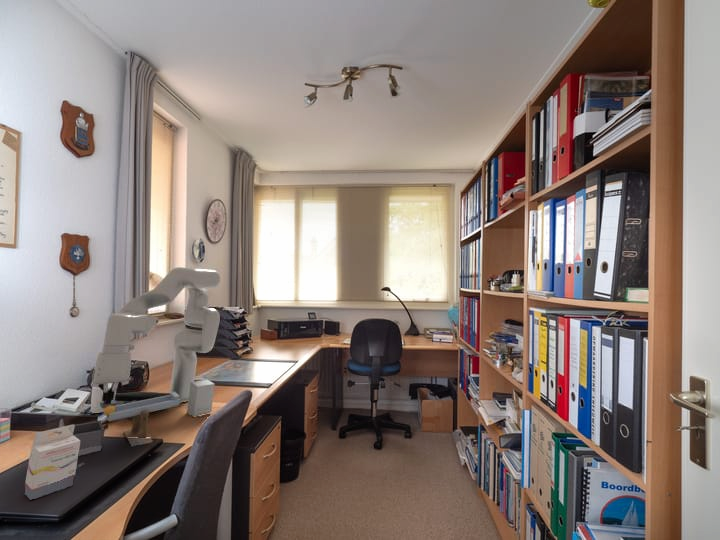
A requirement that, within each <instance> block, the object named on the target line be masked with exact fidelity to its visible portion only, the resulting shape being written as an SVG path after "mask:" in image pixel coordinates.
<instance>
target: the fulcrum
mask: <svg viewBox="0 0 720 540" xmlns="http://www.w3.org/2000/svg"><path fill="white" fill-rule="evenodd" d="M149 415H150V412H149V410H146V411H142V412H141V414H140V415H135V416H134V417H133V420H132V426H131V429H127V430H123V434H124V437H125V438H126V437H138V438H146V437H151V435H150V434H149V432H148V431H147V429H148V423H149Z"/></svg>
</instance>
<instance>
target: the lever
mask: <svg viewBox="0 0 720 540" xmlns="http://www.w3.org/2000/svg"><path fill="white" fill-rule="evenodd" d="M169 393H170V392H169ZM180 404H181V403H180V399H179V395H178V394H177V393H176V392H171V393H170V395H166V396H161V397H156V398H151V399H146V400H141V401H137V402H132V403H127V404H122V405H117V406H116V402H115V398H114V399H113V400H111V403H110V404H109V403H107V404H105V403H104V401H101V402H100V406H101V408H103V409H105V408H106V407H107V406H114V407H115V412H114V413H110V414H109V416H107V415H105V418H107V421H108V422H112V421H118V420H121V419H125V418H130V417H131V416H135V415H140V414H141V412H142V411H146V410H149V413H152V412H156V411H157V412H158V411H160V410H161V411H162V410H165V409H171V408H174V407H178V406H179V405H180Z"/></svg>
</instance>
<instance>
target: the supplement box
mask: <svg viewBox="0 0 720 540" xmlns="http://www.w3.org/2000/svg"><path fill="white" fill-rule="evenodd" d="M215 384H216V383H214V382H212V381H210V380H208V379H202V380H196V381H195V380H194V382H191V384H190V392H189V400H188V402H187V408H186V413H187V412H188V413H187V414H189V416H191V415H192V416H193V417H194V416H199V415H202V414H207V413H210V412H211V413H212V409H213V402H214V401H213V399H214V393H215ZM192 416H191V417H192ZM193 417H192V418H193Z"/></svg>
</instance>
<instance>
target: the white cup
mask: <svg viewBox="0 0 720 540" xmlns="http://www.w3.org/2000/svg"><path fill="white" fill-rule="evenodd" d="M111 386H112V383H108V389H109V390H110V388H111ZM116 393H117V390H116V391H115V393H114V399H115V396H116V395H117V394H116ZM102 397H103V390H101V389H100V388H98V387H91V398H90V413H91V412H92V413H91V414H93V413H100V412H104V409H103V408H101V406H100V402H101V401H102Z"/></svg>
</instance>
